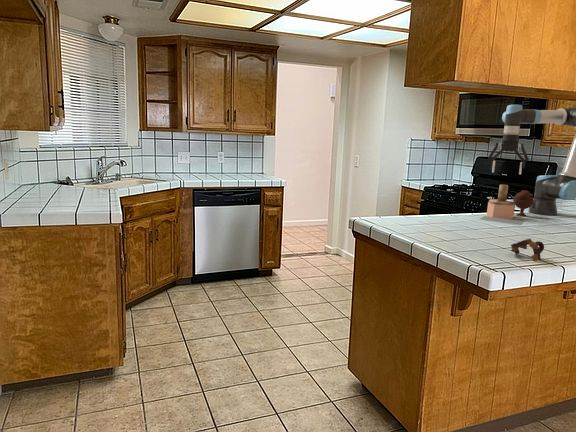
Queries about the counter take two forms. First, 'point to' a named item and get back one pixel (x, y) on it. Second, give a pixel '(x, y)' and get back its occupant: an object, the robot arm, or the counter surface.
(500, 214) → the pink squat block
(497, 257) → the counter surface
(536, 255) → the brown curved piece
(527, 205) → the ice cream bowl
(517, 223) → the mat
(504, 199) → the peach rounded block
